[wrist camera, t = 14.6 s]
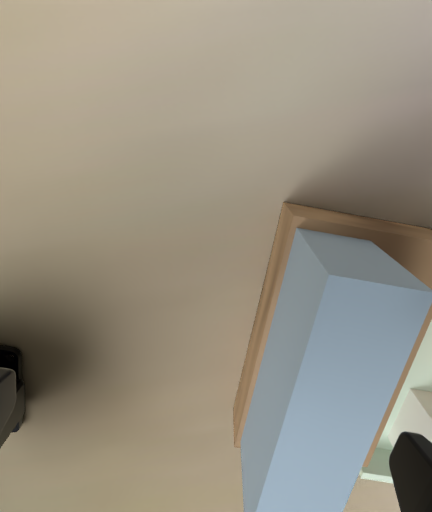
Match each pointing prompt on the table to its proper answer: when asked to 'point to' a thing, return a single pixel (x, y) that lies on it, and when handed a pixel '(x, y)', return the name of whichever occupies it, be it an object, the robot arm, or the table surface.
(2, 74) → the table surface
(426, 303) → the long blue block
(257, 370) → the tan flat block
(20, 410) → the robot arm
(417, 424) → the tile
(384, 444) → the tray
